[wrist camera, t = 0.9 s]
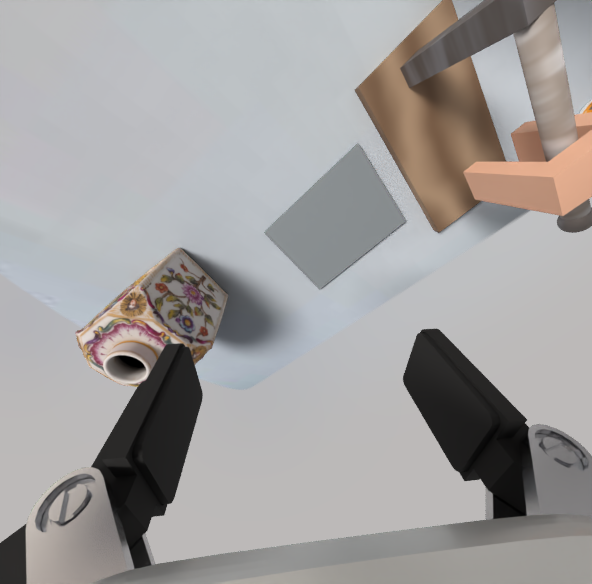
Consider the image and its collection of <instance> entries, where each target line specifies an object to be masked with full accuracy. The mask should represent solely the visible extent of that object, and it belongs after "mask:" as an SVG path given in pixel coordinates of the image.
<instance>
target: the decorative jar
mask: <svg viewBox="0 0 592 584" xmlns="http://www.w3.org/2000/svg"><path fill="white" fill-rule="evenodd" d="M227 299H228V294H227V293H226V292H224V290H222V289H221V288H220V287H219V285H218V284H217V283H215V282H214V280H213V279H212V278H211V277H210V276H209V275H207V274H206V273H205V272H204V271H203V269H202V268H201V267H200V266H199V265H198V264H197V263H195V261H194V260H192V259H191V258H190V257H189V256H188V255H187V254H186V253H185V252H184V251H183V250H182V249H181V248H177V249H176V250H174V251H173V252H171V253H170V254H169V255H168V256H167V257H165V258H164V259H163V260H162V261H160V262H159V263H158V264H157V265H155V266H154V267H153V268H151V269H150V270H149V271H148V272H146V273H145V274H144V275H143V276H142V277H140V278H139V279H138V280H137V281H135V282H134V283H133V284H132V285H131V286H129V287H128V288H127V289H125V290H124V291H123V292H122V293H121V294H120V295H118V296H117V297H116V298H115V299H114V300H113V301H112V302H111V303H109V305H107V306H106V307H105V308H104V309H103V310H102V311H101V312H99V313H98V314H97V315H96V316H95V317H94V318H93V319H92V320H91V321H90V322H89V323H88V324H87V325H86V326H85V327H84V328H82V329H81V330H79V331H77V332H76V336H77V341H78V346H79V348H80V349H81V350H82V351H83V355H84V357H85V358H86V360H87V363H88V365H89V366H90V367H91V368H92V369H94V370H96V371H97V372H99V373H100V374H102V375H104V376H105V377H107V378H109V379H111V380H113V381H115V382H117V383H119V384H121V385H125V386H135V387H138V386H139V385H140V383H142V382H143V381H146V379H147V377H148V376H149V374H150V372H151V370H152V369H153V367H154V365H155V363H156V361H157V360H158V358H159V356H160V354H161V352H162V351H163V349H164V347H165V346H166V345H167V344H178V343H183V344H184V345H185V347H189V348H190V351H191V355H192V358H193V362H194V365H195V364H196V363H197V362H198V361H199V360H201V359H202V358H203V357H204V355H205V354H206V353H207V352H208V351H209V350H210V349H212V346H213V343H214V340H215V337H216V334H217V331H218V328H219V326H220V322H221V319H222V316H223V313H224V310H225V306H226V302H227Z"/></svg>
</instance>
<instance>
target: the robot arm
mask: <svg viewBox="0 0 592 584" xmlns="http://www.w3.org/2000/svg"><path fill="white" fill-rule="evenodd" d="M403 382H404V385H405V386H406V388H407V390H408V392H409V394H410V395H411V397H412V399H413V400H414V402H415V404H416V405H417V407H418V408H419V410H420V412H421V414H422V416H423V417H424V419H425V421H426V422H427V424H428V426H429V428H430V429H431V431H432V433H433V434H434V436H435V438H436V440H437V441H438V443H439V445H440V446H441V448H442V450H443V452H444V453H445V455H446V457H447V458H448V460H449V462H450V463H451V465H452V466H453V468H454V469H455V470H456V471H458V472H460V474H461V476H462V478H463V479H464V481H470V480H479V479H481V480H482V482H483V483H484V485H485V486H486V520H481V521H474V522H465V523H457V524H449V525H441V526H432V527H425V528H416V529H409V530H401V531H393V532H385V533H378V534H370V535H362V536H354V537H346V538H338V539H331V540H323V541H315V542H308V543H300V544H292V545H286V546H278V547H271V548H263V549H255V550H248V551H240V552H233V553H225V554H218V555H212V556H205V557H199V558H193V559H186V560H180V561H173V562H167V563H161V564H155V562H154V558H153V556H152V553H151V549H150V546H149V543H148V541H147V537H146V534H145V532H146V531H147V530H148V527H149V524H150V520H151V517H153V516H162V515H164V514H165V511H166V507H167V504H170V503H172V501H173V499H174V497H175V493H176V490H177V487H178V483H179V479H180V476H181V472H182V468H183V466H184V462H185V458H186V455H187V451H188V447H189V444H190V441H191V437H192V434H193V430H194V427H195V423H196V419H197V416H198V412H199V409H200V406H201V402H202V389H201V386H200V382H199V379H198V375H197V372H196V368H195V365H194V362H193V358H192V355H191V351H190V348H189V347H185V345H184V344H183V343H178V344H167V345H166V346H165V347H164V349H163V351H162V352H161V354H160V356H159V358H158V360H157V361H156V363H155V365H154V367H153V369H152V370H151V372H150V374H149V376H148V377H147V379H146V381H143V382H142V383H140V385H139V386H138V387H137V389H136V391H135V392H134V394H133V396H132V398H131V399H130V401H129V403H128V404H127V406H126V408H125V410H124V411H123V413H122V415H121V417H120V418H119V420H118V422H117V423H116V425H115V427H114V429H113V430H112V432H111V434H110V436H109V437H108V439H107V441H106V442H105V444H104V446H103V448H102V449H101V451H100V453H99V454H98V456H97V458H96V460H95V461H94V463H93V465H92V466H91V467H85V468H81V469H78V470H75V471H73V472H71V473H69V474H67V475H65V476H63V477H62V478H61V479H60V480H58V481H57V482H55V483H54V484H53V485H52V486H51V487H50V488H49V489H48V490H47V491H46V492H45V493H44V494H43V495H42V496H41V497H40V498H39V500H38V501H37V503H36V504H35V505H34V507H33V509H32V511H31V513H30V515H29V517H28V519H27V524H25V525H24V526H23V527H21V528H20V529H19V530H17V531H16V532H15V533H13V534H12V535H11V536H9V537H8V538H7V539H5V540H4V541H2V542H1V543H0V584H592V456H591V455H590V453H589V452H588V451H587V450H586V449H585V448H584V447H583V446H582V445H581V444H580V443H578V442H577V441H576V440H574V439H573V438H572V437H570V436H569V435H567V434H565V433H564V432H562V431H560V430H558V429H556V428H553V427H550V426H547V425H540V424H537V425H532V426H531V427H530V428H529V427H528V426H527V425H526V424H525V422H526V421H527V419H526V418H525V417H524V416H523V415H522V414H521V413H520V412H519V411H518V410H517V409H516V408H515V407H514V406H513V405H512V404H511V403H510V402H509V401H508V400H507V399H506V398H505V397H504V396H503V395H502V394H501V392H499V390H498V389H497V388H496V387H495V386H494V385H493V384H492V383H491V382H490V381H489V380H488V379H487V378H486V377H485V376H484V375H483V374H482V373H481V372H480V371H479V370H478V369H477V368H476V367H475V366H474V365H473V364H472V363H471V362H470V361H469V360H468V359H467V358H466V357H465V356H464V355H463V354H462V353H461V351H459V349H458V348H457V347H456V346H455V345H454V344H453V343H452V342H451V341H450V340H449V339H448V338H447V337H446V336H445V335H444V334H443V333H442V332H441V331H440V330H439V329H424V330H422V331H421V332H420V333H419V334H417V336H416V340H415V343H414V346H413V349H412V352H411V355H410V358H409V361H408V364H407V367H406V370H405V373H404V376H403Z"/></svg>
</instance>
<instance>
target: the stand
mask: <svg viewBox="0 0 592 584" xmlns="http://www.w3.org/2000/svg"><path fill="white" fill-rule="evenodd" d="M555 1H556V0H484V1H483V2H482V3H480V4H479V5H478V6H476V7H475V8H474V9H472V10H471V11H470V12H468V13H467V14H466V15H464V16H463V17H462V18H460V19H459V20H458V17H457V14H456V11H455V8H454V6H453V3H452V0H442V1H441V2H440V3H439V4H438V5H437V6H436V8H435V9H434V10H433V11H432V12H431V13H430V14H429V15H428V16H427V17H426V18H425V19H424V20H423V21H422V22H421V23H420V24H419V25H418V26H417V27H416V28H415V29H414V30H413V31H412V32H411V33H410V34H409V35H408V36H407V37H406V38H405V39H404V40H403V41H402V42H401V43H400V44H399V45H398V46H397V47H396V48H395V50H394V51H393V52H392V53H391V54H390V55H389V56H388V57H387V58H386V59H385V60H384V61H383V62H382V63H381V64H380V65H379V66H378V67H377V68H376V69H375V70H374V71H373V72H372V73H371V74H370V75H369V76H368V77H367V78H366V79H365V80H364V81H363V82H362V83H361V84H360V85H359V86H358V87H357V88H356V89H355V91H356V93H357V95H358V97H359V99H360V100H361V102H362V104H363V106H364V107H365V109H366V111H367V113H368V115H369V116H370V118H371V120H372V122H373V123H374V125H375V127H376V129H377V130H378V132H379V134H380V136H381V138H382V139H383V141H384V143H385V145H386V146H387V148H388V150H389V152H390V154H391V155H392V157H393V159H394V161H395V162H396V164H397V166H398V168H399V169H400V171H401V173H402V175H403V177H404V178H405V180H406V182H407V184H408V185H409V187H410V189H411V191H412V193H413V194H414V196H415V198H416V200H417V201H418V203H419V205H420V207H421V208H422V210H423V212H424V214H425V216H426V217H427V219H428V221H429V223H430V224H431V226H432V228H433V230H435V231H437V232H441V231H442V230H443V229H445V228H446V227H447V226H449V225H450V224H451V223H453V222H454V221H455V220H457V219H458V218H459V217H461V216H462V215H463V214H465V213H466V212H467V211H469V210H470V209H471V208H473V207H474V206H475V205H477V204H478V203H479V202H481V201H480V200H475V198H474V196H473V194H472V192H471V189H470V187H469V185H468V182H467V180H466V178H465V175H464V173H463V172H464V171H465V170H466V169H468V168H469V167H470V166H471V165H473V164H474V163H475V162H506V160H505V157H504V154H503V151H502V148H501V145H500V142H499V139H498V136H497V133H496V130H495V127H494V124H493V122H492V119H491V116H490V113H489V110H488V107H487V104H486V101H485V98H484V95H483V92H482V89H481V86H480V83H479V80H478V77H477V74H476V71H475V68H474V65H473V62H472V59H471V55H473V54H475V53H477V52H479V51H481V50H483V49H485V48H487V47H489V46H490V45H492V44H494V43H496V42H498V41H500V40H502V39H504V38H506V37H508V36H510V35H511V34H514V37H515V41H516V45H517V49H518V53H519V57H520V61H521V65H522V69H523V73H524V77H525V81H526V85H527V89H528V93H529V97H530V100H531V104H532V108H533V112H534V116H535V120H536V124H537V128H538V132H539V136H540V140H541V144H542V148H543V152H544V156H545V160H546V162H549V161H550V160H551V159H553V158H554V157H555V156H557V155H558V154H559V153H561V152H562V151H563V150H565V149H566V148H568V147H569V146H570V145H572V144H573V143H574V142H576V141H577V140H578V134H577V128H576V123H575V117H574V111H573V106H572V100H571V95H570V89H569V83H568V78H567V72H566V67H565V61H564V56H563V50H562V44H561V39H560V33H559V28H558V22H557V16H556V11H555V5H554V2H555ZM557 225H558V226H559V228H560V229H561V230H563V231H566V232H572V233H573V232H580V231H583V230H586V229H588V228H589V227H591V226H592V208H591V207H590V201H589V199H588V200H586V201H585V202H583V203H582V204H580V205H579V206H577V207H576V208H574V209H573V210H571V211H570V212H568V213H567V214H565V215H564V216H560V215H559V217H558V220H557Z"/></svg>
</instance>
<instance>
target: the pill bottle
mask: <svg viewBox="0 0 592 584" xmlns="http://www.w3.org/2000/svg"><path fill="white" fill-rule="evenodd" d="M590 112H592V100H591V101H590V102H588V103H587V104H586V105H585V106H584V107H583V109H582V110H581V111H580V113H579V114H583V113H590Z"/></svg>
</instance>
